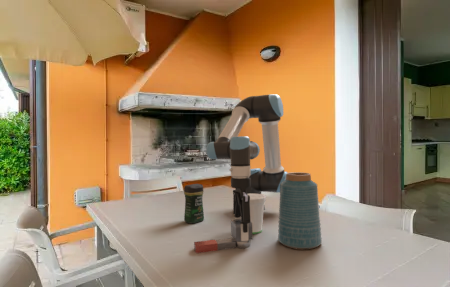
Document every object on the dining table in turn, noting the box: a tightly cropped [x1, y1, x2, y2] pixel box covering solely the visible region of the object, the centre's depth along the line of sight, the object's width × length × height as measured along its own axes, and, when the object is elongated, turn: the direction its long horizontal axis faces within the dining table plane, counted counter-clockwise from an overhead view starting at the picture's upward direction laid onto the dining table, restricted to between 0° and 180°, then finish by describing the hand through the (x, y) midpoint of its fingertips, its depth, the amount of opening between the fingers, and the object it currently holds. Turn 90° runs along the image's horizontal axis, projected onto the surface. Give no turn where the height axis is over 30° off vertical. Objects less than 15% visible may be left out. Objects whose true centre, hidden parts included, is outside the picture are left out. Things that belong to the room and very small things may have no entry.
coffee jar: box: [183, 183, 205, 224], centre depth 136 cm, size 10×8×19 cm
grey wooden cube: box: [230, 218, 254, 241], centre depth 103 cm, size 6×6×6 cm
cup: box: [247, 193, 267, 235], centre depth 120 cm, size 12×12×15 cm
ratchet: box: [193, 237, 251, 254], centre depth 102 cm, size 21×6×7 cm, turn 104°
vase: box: [277, 171, 323, 251], centre depth 105 cm, size 16×16×27 cm
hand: (241, 237), depth 104 cm, fingers closed on grey wooden cube, 6 cm apart
